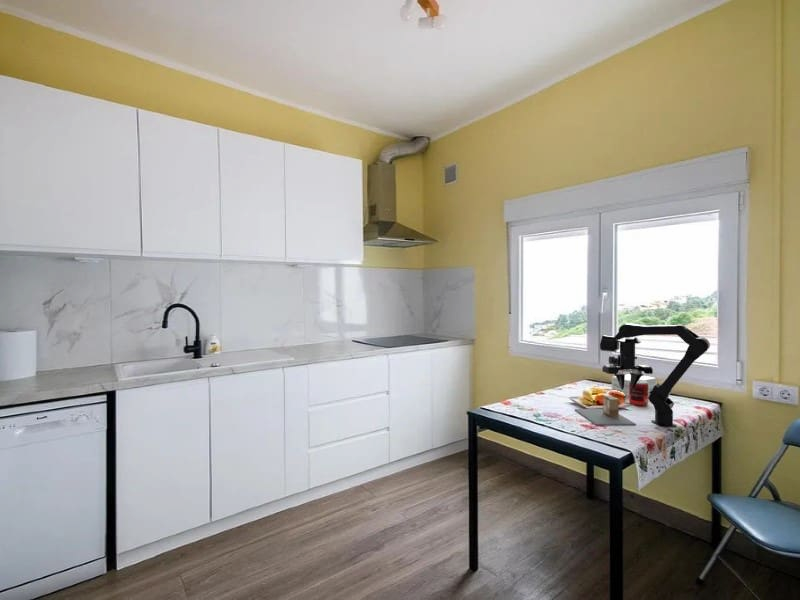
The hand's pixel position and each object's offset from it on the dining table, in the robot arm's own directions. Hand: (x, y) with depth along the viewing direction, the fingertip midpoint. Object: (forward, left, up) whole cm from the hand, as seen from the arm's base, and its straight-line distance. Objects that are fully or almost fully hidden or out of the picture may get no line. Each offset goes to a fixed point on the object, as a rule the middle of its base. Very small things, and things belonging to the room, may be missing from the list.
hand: (627, 389), depth 174 cm
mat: (0, +10, -12) cm, 16 cm away
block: (0, +7, -11) cm, 13 cm away
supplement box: (+36, -23, -12) cm, 44 cm away
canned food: (+19, -16, -12) cm, 28 cm away
